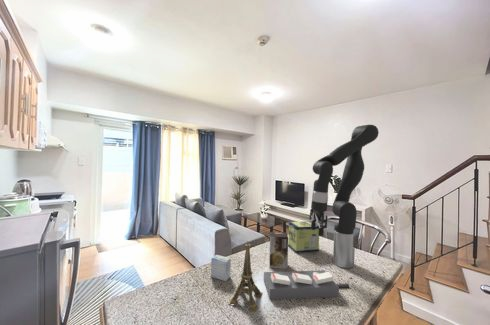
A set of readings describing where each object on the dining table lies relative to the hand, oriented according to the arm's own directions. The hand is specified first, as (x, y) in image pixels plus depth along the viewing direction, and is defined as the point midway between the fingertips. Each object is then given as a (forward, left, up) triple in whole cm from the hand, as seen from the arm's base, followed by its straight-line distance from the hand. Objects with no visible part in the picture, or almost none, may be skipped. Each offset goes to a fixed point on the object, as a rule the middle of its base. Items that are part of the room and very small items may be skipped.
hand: (316, 232), depth 103 cm
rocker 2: (+15, +19, -12) cm, 26 cm away
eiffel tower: (+38, +21, -18) cm, 47 cm away
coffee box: (+19, -3, -18) cm, 26 cm away
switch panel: (+11, +16, -18) cm, 26 cm away
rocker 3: (+6, +19, -12) cm, 23 cm away
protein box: (-2, -22, -18) cm, 29 cm away
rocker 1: (+24, +19, -12) cm, 32 cm away
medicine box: (+48, +6, -18) cm, 51 cm away
